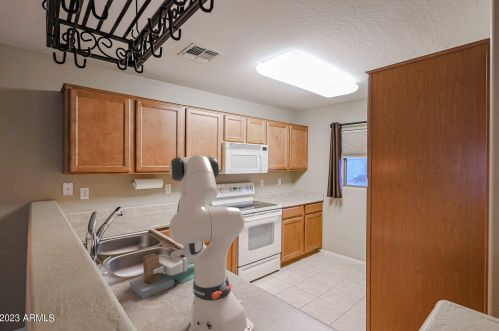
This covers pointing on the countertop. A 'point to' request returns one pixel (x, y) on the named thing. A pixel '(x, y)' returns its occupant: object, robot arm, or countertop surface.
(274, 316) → the countertop surface
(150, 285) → the socket block
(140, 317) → the countertop surface
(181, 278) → the teal mat
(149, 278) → the walnut peg
